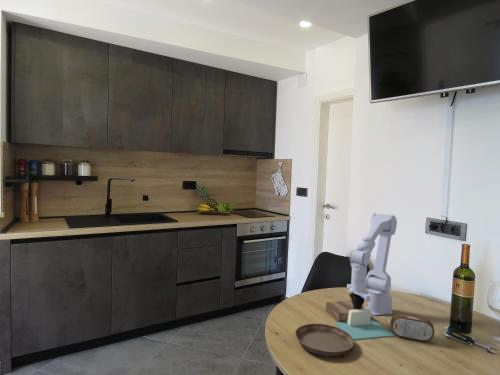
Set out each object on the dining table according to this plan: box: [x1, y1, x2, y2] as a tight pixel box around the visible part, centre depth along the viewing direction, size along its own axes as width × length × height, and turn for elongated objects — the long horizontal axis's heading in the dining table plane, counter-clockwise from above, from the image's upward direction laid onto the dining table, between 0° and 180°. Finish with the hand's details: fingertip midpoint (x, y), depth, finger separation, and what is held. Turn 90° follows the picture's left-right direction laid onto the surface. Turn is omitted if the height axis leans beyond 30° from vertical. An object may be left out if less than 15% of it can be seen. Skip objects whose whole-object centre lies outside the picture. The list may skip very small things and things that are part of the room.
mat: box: [334, 319, 396, 341], centre depth 134 cm, size 18×14×1 cm
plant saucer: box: [294, 323, 355, 357], centre depth 121 cm, size 21×21×3 cm
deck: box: [325, 300, 366, 322], centre depth 146 cm, size 14×12×4 cm
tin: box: [390, 313, 435, 343], centre depth 127 cm, size 15×3×8 cm, turn 71°
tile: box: [347, 309, 372, 326], centre depth 137 cm, size 9×6×2 cm
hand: (357, 311), depth 138 cm, fingers closed
